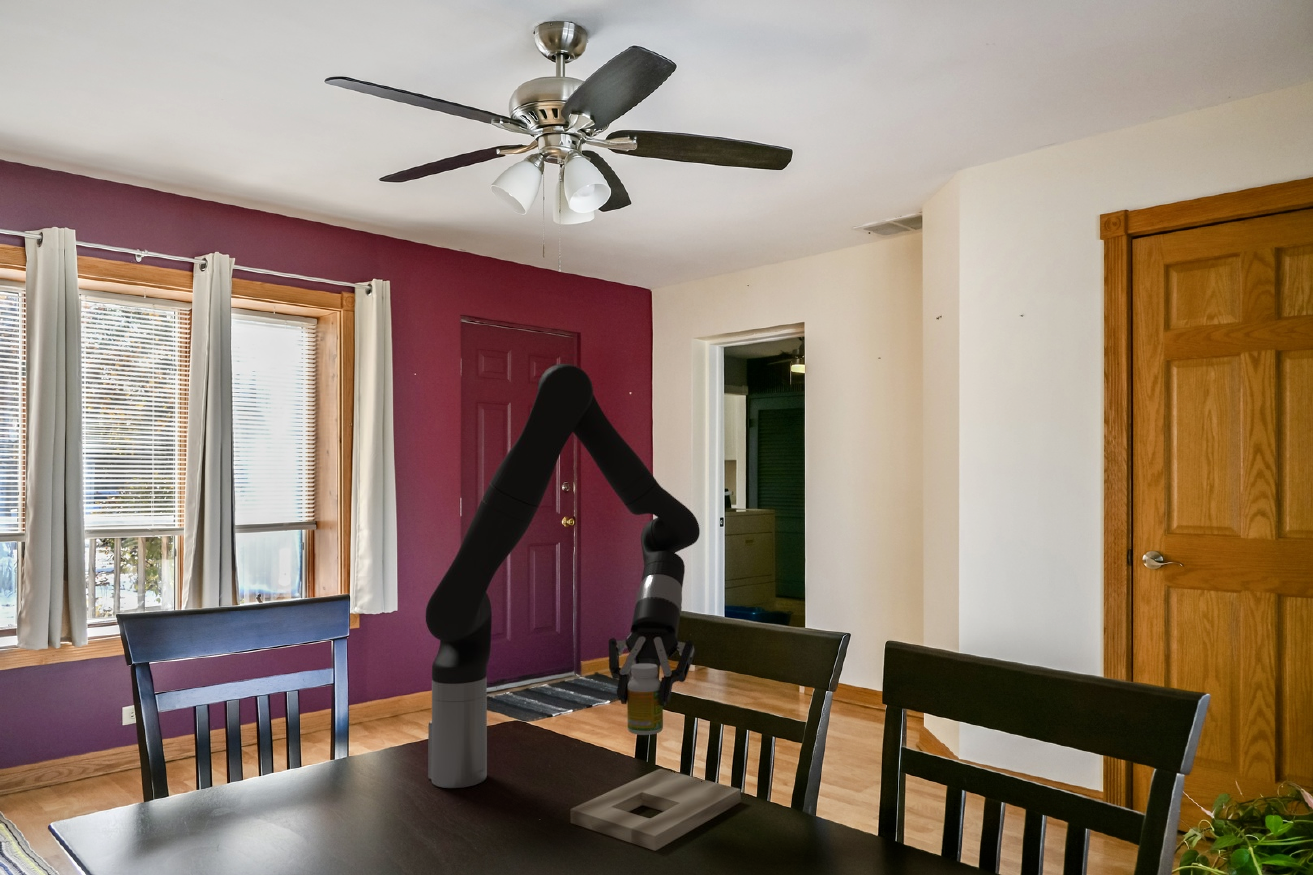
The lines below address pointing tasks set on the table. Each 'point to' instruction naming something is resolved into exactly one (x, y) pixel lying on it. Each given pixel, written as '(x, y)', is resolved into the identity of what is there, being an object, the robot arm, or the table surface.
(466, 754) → the robot arm
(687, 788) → the socket board
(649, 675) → the supplement bottle
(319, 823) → the table surface
